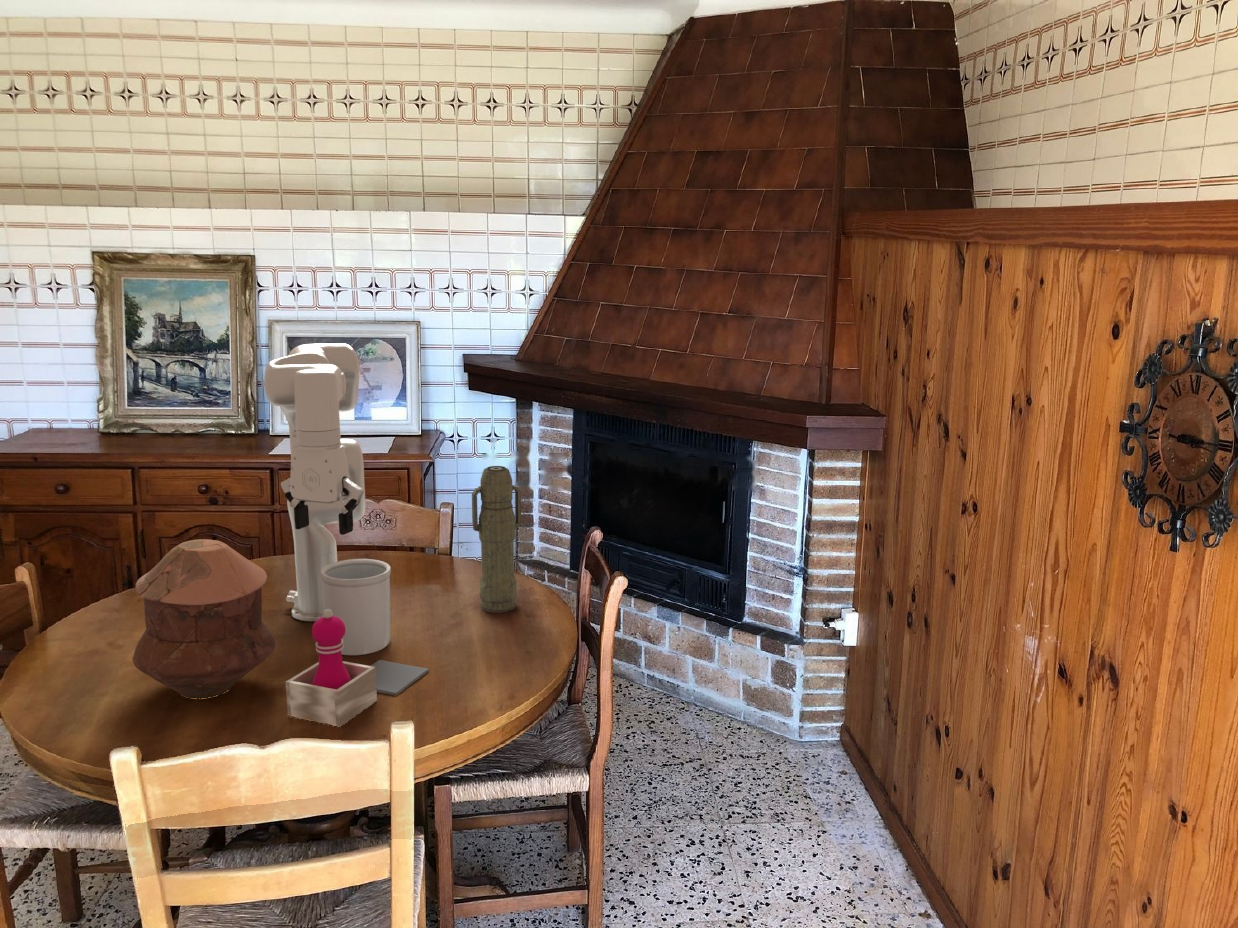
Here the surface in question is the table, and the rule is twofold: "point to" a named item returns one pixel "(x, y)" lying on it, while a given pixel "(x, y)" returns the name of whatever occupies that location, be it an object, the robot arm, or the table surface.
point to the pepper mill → (330, 651)
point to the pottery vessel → (202, 619)
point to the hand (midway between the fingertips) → (324, 530)
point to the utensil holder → (359, 602)
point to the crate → (331, 695)
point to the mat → (396, 676)
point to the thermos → (497, 538)
